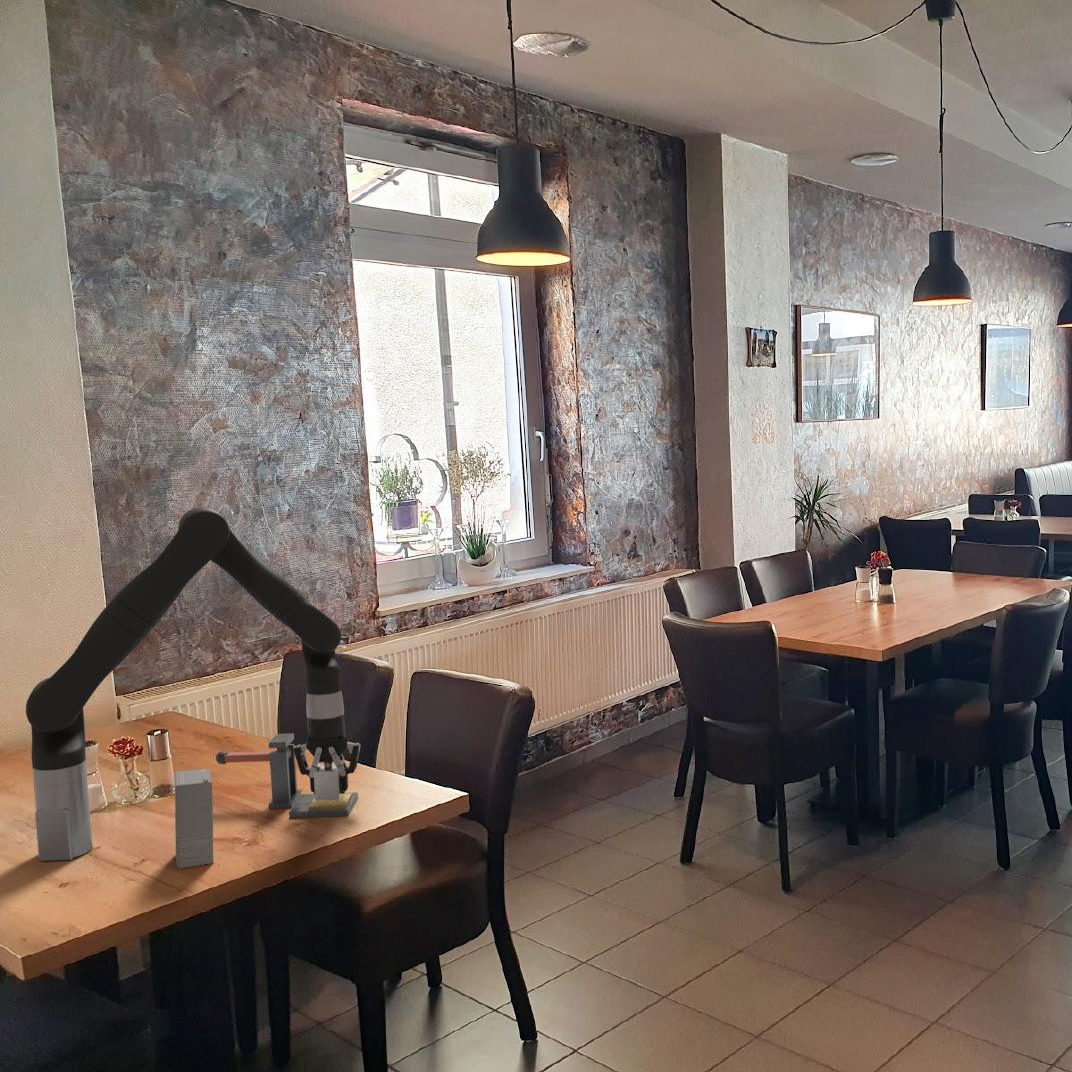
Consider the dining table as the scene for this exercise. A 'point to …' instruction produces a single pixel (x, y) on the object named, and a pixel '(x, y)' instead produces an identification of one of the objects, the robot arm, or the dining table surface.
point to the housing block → (327, 782)
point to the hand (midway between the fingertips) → (329, 792)
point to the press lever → (247, 756)
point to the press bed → (287, 786)
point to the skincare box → (193, 818)
